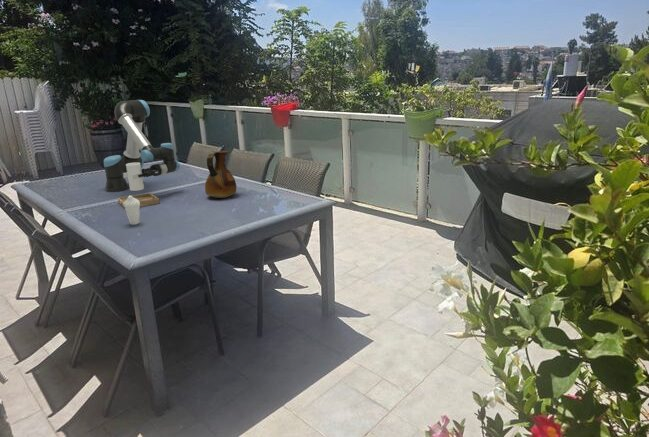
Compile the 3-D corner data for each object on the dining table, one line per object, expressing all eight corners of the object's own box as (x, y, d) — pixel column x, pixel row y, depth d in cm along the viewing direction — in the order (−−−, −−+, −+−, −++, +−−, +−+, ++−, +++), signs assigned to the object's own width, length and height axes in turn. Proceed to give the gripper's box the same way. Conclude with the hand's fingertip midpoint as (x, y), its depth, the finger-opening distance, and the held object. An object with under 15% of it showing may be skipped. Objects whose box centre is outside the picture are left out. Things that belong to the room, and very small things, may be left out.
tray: (118, 202, 288) (117, 198, 287) (150, 197, 299) (150, 192, 298) (126, 209, 273) (125, 204, 272) (159, 203, 284) (159, 198, 283)
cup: (139, 190, 278) (135, 165, 274) (127, 190, 280) (123, 165, 275) (146, 187, 286) (142, 162, 281) (135, 187, 288) (131, 162, 283)
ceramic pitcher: (243, 194, 301) (239, 149, 292) (224, 201, 284) (219, 154, 275) (219, 191, 309) (214, 147, 300) (199, 199, 292) (194, 152, 283)
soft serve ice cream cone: (129, 221, 250) (124, 193, 245) (145, 220, 251) (140, 192, 246) (124, 226, 242) (119, 197, 237) (140, 225, 243) (135, 196, 238)
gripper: (170, 176, 291) (140, 184, 272) (148, 174, 301) (118, 181, 283) (168, 164, 289) (138, 171, 270) (146, 162, 299) (116, 169, 280)
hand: (128, 176), depth 276 cm, fingers closed on cup, 8 cm apart
